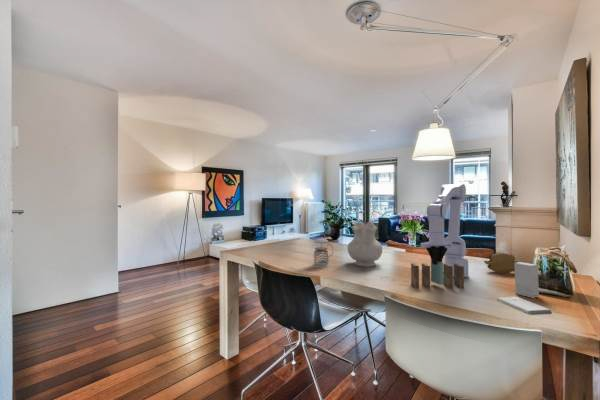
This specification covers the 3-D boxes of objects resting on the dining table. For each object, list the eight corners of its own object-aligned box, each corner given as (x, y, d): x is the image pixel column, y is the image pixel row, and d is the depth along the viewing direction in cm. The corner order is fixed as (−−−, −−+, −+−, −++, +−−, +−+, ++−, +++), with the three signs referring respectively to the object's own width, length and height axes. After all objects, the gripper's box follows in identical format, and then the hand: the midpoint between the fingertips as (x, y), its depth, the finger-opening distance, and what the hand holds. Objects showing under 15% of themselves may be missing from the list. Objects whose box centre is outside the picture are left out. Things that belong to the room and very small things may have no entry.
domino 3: (434, 280, 121) (434, 260, 121) (442, 284, 116) (442, 262, 116) (430, 281, 121) (430, 260, 121) (439, 284, 116) (439, 262, 116)
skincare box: (539, 297, 105) (539, 264, 105) (533, 298, 103) (532, 265, 103) (520, 292, 110) (520, 261, 110) (514, 293, 108) (513, 262, 108)
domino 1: (414, 283, 122) (414, 263, 122) (419, 287, 117) (418, 265, 117) (411, 283, 122) (411, 263, 122) (415, 287, 117) (414, 265, 117)
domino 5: (457, 284, 120) (457, 263, 120) (463, 288, 115) (463, 266, 115) (454, 284, 120) (454, 263, 120) (459, 288, 115) (459, 266, 115)
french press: (313, 263, 162) (313, 220, 162) (333, 264, 160) (333, 220, 160) (311, 267, 152) (311, 221, 152) (333, 268, 150) (332, 221, 150)
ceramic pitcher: (386, 271, 147) (390, 224, 147) (349, 268, 147) (353, 221, 148) (376, 262, 169) (379, 221, 169) (344, 260, 169) (347, 219, 169)
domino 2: (425, 284, 121) (425, 263, 121) (430, 287, 116) (430, 266, 116) (421, 284, 121) (421, 263, 121) (426, 287, 116) (426, 265, 116)
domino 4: (447, 284, 121) (447, 263, 121) (452, 288, 116) (452, 266, 116) (443, 284, 121) (443, 263, 121) (448, 288, 116) (448, 266, 116)
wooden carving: (518, 272, 141) (518, 252, 141) (523, 274, 136) (523, 254, 136) (482, 270, 143) (482, 251, 143) (486, 273, 139) (486, 253, 139)
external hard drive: (528, 315, 89) (496, 301, 102) (551, 314, 90) (517, 300, 102) (528, 310, 89) (496, 297, 102) (551, 309, 90) (517, 296, 102)
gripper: (443, 230, 124) (443, 261, 124) (415, 231, 120) (415, 263, 120) (456, 232, 118) (456, 264, 118) (427, 233, 114) (427, 266, 114)
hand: (436, 264), depth 119 cm, fingers closed on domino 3, 1 cm apart
